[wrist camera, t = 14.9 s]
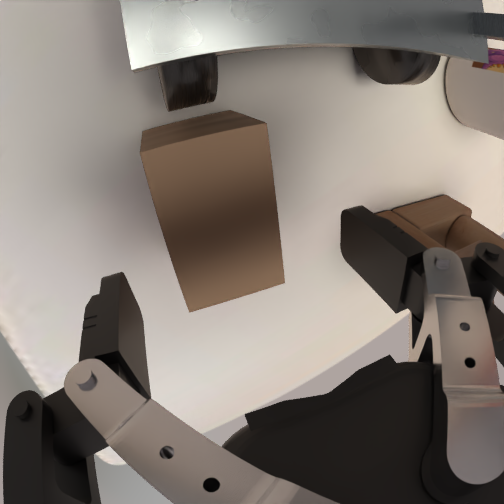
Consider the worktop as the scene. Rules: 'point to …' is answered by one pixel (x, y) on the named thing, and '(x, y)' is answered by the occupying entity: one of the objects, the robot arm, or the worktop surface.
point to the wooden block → (443, 225)
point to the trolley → (301, 36)
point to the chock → (216, 205)
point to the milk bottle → (478, 92)
